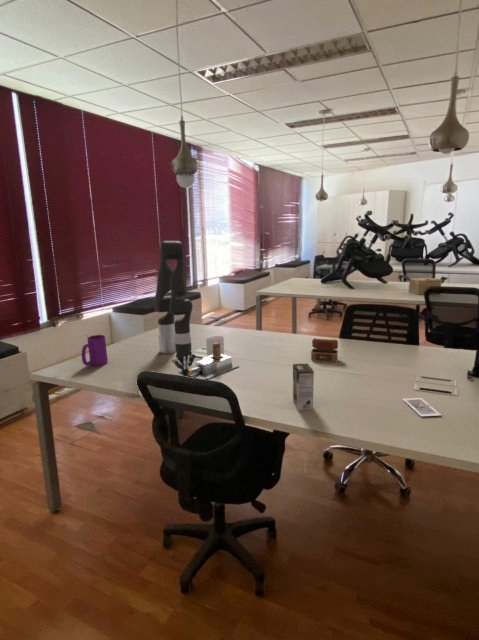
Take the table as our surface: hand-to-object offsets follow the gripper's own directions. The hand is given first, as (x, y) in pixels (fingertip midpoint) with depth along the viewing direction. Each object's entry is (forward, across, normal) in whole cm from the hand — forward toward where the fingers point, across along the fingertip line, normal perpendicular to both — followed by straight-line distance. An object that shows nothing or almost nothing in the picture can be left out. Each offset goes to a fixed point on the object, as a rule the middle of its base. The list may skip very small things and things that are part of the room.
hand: (185, 375), depth 187 cm
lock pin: (0, -9, 0) cm, 9 cm away
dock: (+2, -16, 0) cm, 16 cm away
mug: (+2, +19, -54) cm, 57 cm away
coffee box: (+2, -13, +59) cm, 60 cm away
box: (+2, -65, +37) cm, 75 cm away
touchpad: (+2, -40, +96) cm, 104 cm away
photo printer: (+2, -33, -14) cm, 36 cm away
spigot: (+1, -21, 0) cm, 21 cm away
